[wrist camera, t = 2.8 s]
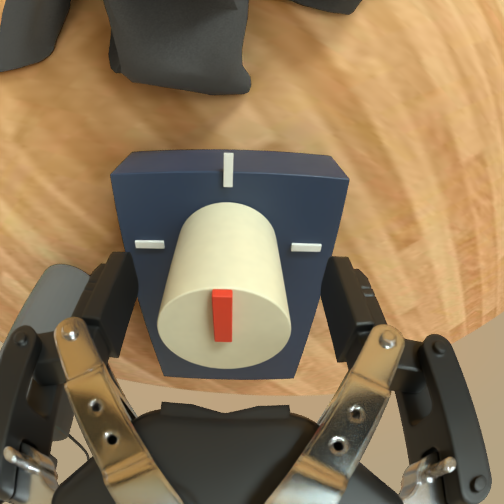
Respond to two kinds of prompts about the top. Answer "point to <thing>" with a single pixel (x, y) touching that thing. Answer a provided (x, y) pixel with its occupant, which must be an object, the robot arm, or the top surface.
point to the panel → (242, 192)
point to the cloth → (151, 39)
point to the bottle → (53, 322)
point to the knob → (225, 290)
